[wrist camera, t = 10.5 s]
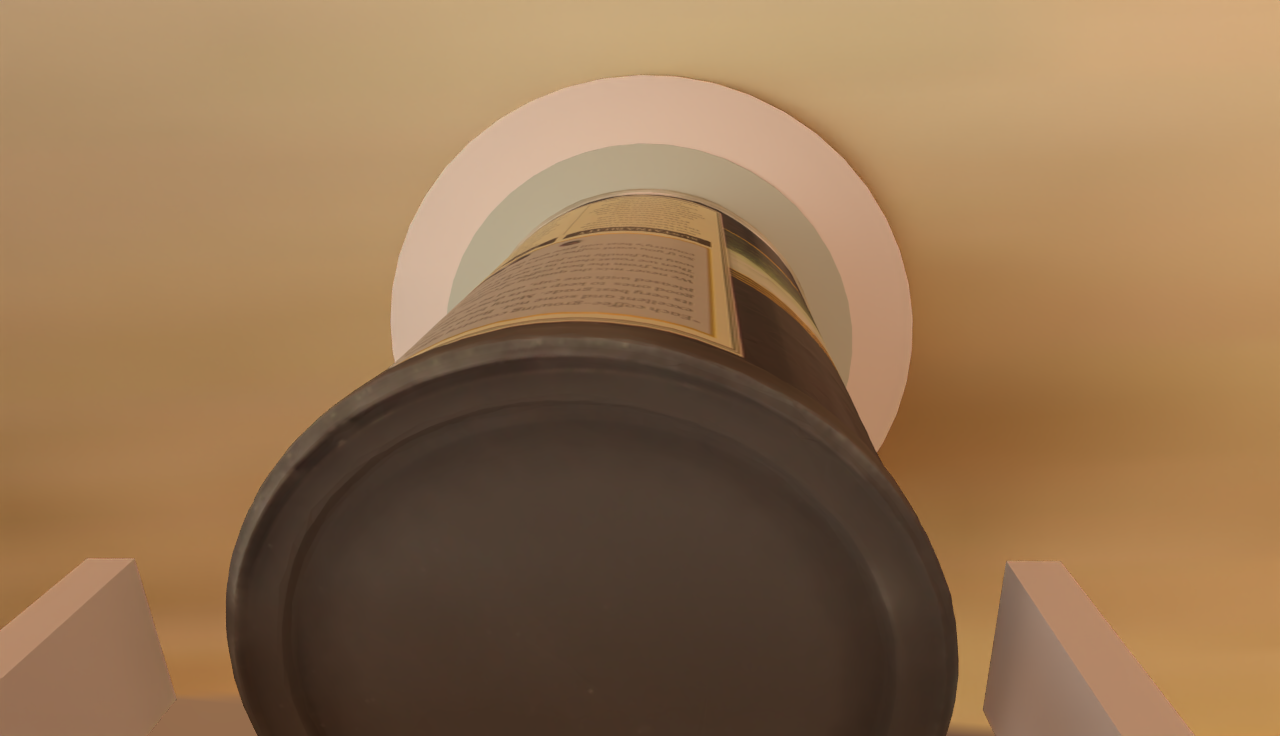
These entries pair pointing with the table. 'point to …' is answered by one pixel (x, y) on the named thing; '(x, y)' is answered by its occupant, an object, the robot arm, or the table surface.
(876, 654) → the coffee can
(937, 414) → the table surface
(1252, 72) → the table surface
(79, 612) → the robot arm
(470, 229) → the plate
